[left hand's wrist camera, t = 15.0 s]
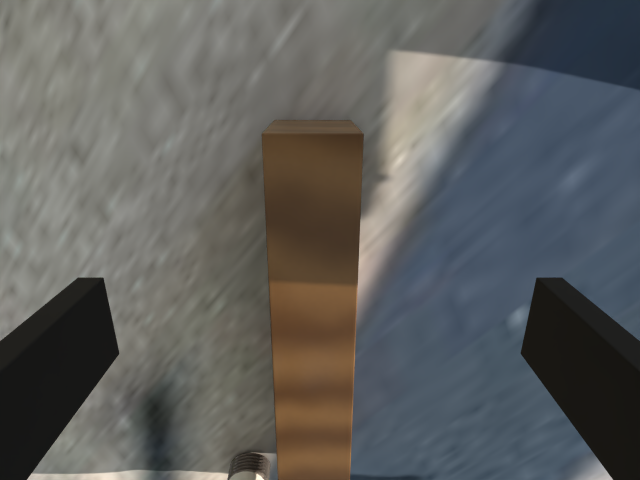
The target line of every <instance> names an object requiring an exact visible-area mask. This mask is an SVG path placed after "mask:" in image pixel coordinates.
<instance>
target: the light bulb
mask: <svg viewBox="0 0 640 480" xmlns="http://www.w3.org/2000/svg"><path fill="white" fill-rule="evenodd" d="M269 471H270V462H269V460H268V459H267V458H266V457H264V456H262V455H260V454H256V453H245V454H242V455H239V456H237V457H236V458H235V459H234V460H233V461H232V462H231V465H230V470H229V475H228V480H269Z"/></svg>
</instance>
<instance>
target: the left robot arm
mask: <svg viewBox="0 0 640 480" xmlns="http://www.w3.org/2000/svg"><path fill="white" fill-rule="evenodd" d="M118 355H119V350H118V345H117V340H116V335H115V331H114V326H113V321H112V316H111V312H110V307H109V302H108V297H107V293H106V288H105V283H104V278H77V279H76V280H75V281H73V282H72V283H71V284H70V285H69V286H67V287H66V288H65V289H64V290H62V291H61V292H60V293H59V294H58V295H56V296H55V297H54V298H53V299H51V300H50V301H49V302H48V303H47V304H45V305H44V306H43V307H42V308H40V309H39V310H38V311H37V312H36V313H34V314H33V315H32V316H31V317H29V318H28V319H27V320H26V321H25V322H23V323H22V324H21V325H20V326H18V327H17V328H16V329H15V330H13V331H12V332H11V333H10V334H9V335H7V336H6V337H5V338H4V339H2V340H1V341H0V480H27V479H28V477H29V476H30V475H31V473H32V472H33V471H34V469H35V468H36V466H37V465H38V464H39V462H40V461H41V460H42V458H43V457H44V456H45V454H46V453H47V451H48V450H49V449H50V447H51V446H52V445H53V443H54V442H55V441H56V439H57V438H58V436H59V435H60V434H61V432H62V431H63V430H64V428H65V427H66V426H67V424H68V423H69V421H70V420H71V419H72V417H73V416H74V415H75V413H76V412H77V411H78V409H79V408H80V406H81V405H82V404H83V402H84V401H85V400H86V398H87V397H88V396H89V394H90V393H91V391H92V390H93V389H94V387H95V386H96V385H97V383H98V382H99V381H100V379H101V378H102V376H103V375H104V374H105V372H106V371H107V370H108V368H109V367H110V366H111V364H112V363H113V361H114V360H115V359H116V357H117V356H118ZM521 355H522V356H523V357H524V359H525V360H526V361H527V363H528V364H529V366H530V367H531V368H532V370H533V371H534V372H535V374H536V375H537V376H538V378H539V379H540V381H541V382H542V383H543V385H544V386H545V387H546V389H547V390H548V391H549V393H550V394H551V396H552V397H553V398H554V400H555V401H556V402H557V404H558V405H559V406H560V408H561V409H562V411H563V412H564V413H565V415H566V416H567V417H568V419H569V420H570V421H571V423H572V424H573V426H574V427H575V428H576V430H577V431H578V432H579V434H580V435H581V436H582V438H583V439H584V441H585V442H586V443H587V445H588V446H589V447H590V449H591V450H592V451H593V453H594V454H595V456H596V457H597V458H598V460H599V461H600V462H601V464H602V465H603V466H604V468H605V469H606V471H607V472H608V473H609V475H610V476H611V477H612V479H613V480H640V341H639V340H638V339H636V338H635V337H634V336H633V335H631V334H630V333H629V332H628V331H627V330H625V329H624V328H623V327H622V326H620V325H619V324H618V323H617V322H615V321H614V320H613V319H612V318H611V317H609V316H608V315H607V314H606V313H604V312H603V311H602V310H601V309H600V308H598V307H597V306H596V305H595V304H593V303H592V302H591V301H590V300H589V299H587V298H586V297H585V296H584V295H582V294H581V293H580V292H579V291H578V290H576V289H575V288H574V287H573V286H571V285H570V284H569V283H568V282H567V281H565V280H564V279H563V278H536V283H535V288H534V293H533V297H532V302H531V307H530V312H529V316H528V321H527V326H526V331H525V335H524V340H523V345H522V350H521Z"/></svg>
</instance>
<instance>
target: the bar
mask: <svg viewBox="0 0 640 480" xmlns="http://www.w3.org/2000/svg"><path fill="white" fill-rule="evenodd" d="M363 136H364V134H363V133H362V132H361V131H360V130H359V128H358V127H357V126H356V125H355V124H354V123H353V122H352V121H351V120H274V121H273V122H272V123H271V124H270V126H269V127H268V128H267V129H266V130H265V131H264V132H263V133H262V150H263V171H264V192H265V214H266V235H267V256H268V278H269V299H270V320H271V341H272V363H273V384H274V405H275V427H276V448H277V469H278V480H350V462H351V437H352V412H353V387H354V362H355V337H356V312H357V287H358V262H359V236H360V211H361V186H362V161H363Z"/></svg>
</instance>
